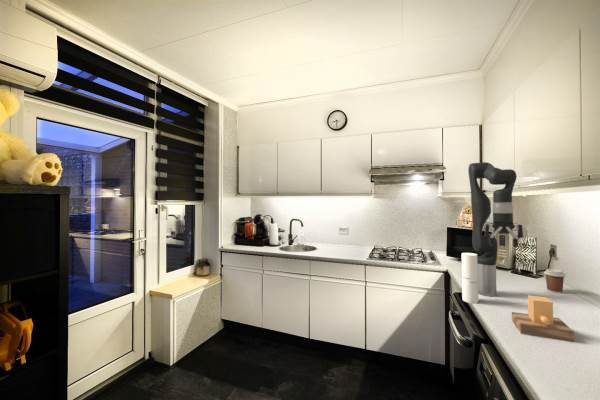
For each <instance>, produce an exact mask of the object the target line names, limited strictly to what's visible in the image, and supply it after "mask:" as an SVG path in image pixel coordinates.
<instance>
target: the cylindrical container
mask: <svg viewBox="0 0 600 400" xmlns="http://www.w3.org/2000/svg"><path fill="white" fill-rule="evenodd" d="M477 257H478V254H477V253H473V252H462V253H461V291H462V292H461V293H462V294H461V297H462V301H463V302H465V303H468V304H477V303H479V293H478V266H477Z"/></svg>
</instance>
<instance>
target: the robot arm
mask: <svg viewBox="0 0 600 400" xmlns="http://www.w3.org/2000/svg"><path fill="white" fill-rule="evenodd" d="M517 177H518V176H517V172H516V171H515V170H514V169H512V168H510V169H507V168H506V169H501V168H498V167H495V166H494V165H493V164H492V163H490V162H487V161H486V162H472V163H470V164H469V165H468V178H469V187H470V199H471V200H470V202H471V204H470V205H471V206H470V207H471V216H472V217H471V218H472V235H471V239H472V240H471V242H472V248H473V250H474V251H475V252H480V253H483V252H484V254H482V255H479V256H477V266H478V295H482V296H487V297H497V259H498V241H497V238H496V236H497V234H505V235H507V234H509V235H510V236H511V237H512V246H513V248H517V247H518V246H519V239H522V238H524V232H523V225H522V224H520V223H519V224H518V223H517V224H514V206H513V190H514V186H515V183H516V180H517ZM479 179H486V180H487V181H488V183H489V184H490V185H492V186H493V185H494V186H495V185H496V186H497V185H498V186H499V185H501V186H502V185H503V186H504V185H505V186H504V187H503V188H501V189H500V188H499V189H495V190H494V191H493V192H492V198H493V199H492V200H493V203H492V205H491V199H490V198H489V196H488V195H487V194H486V193H485V192H484V190H483V189H482V188H481V186H480V185H479V182H478V180H479ZM491 206H492V207H491ZM491 213H492V224H489V223H487V221H488V219H489V218H490V216H491ZM483 227H484V228H483ZM491 228H493V231H491V233H490V229H491ZM483 229H484V235H483ZM514 229H516V230H517V234H516V233H515V232H514V231H513V230H514ZM489 233H490V234H489Z"/></svg>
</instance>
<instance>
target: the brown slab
mask: <svg viewBox="0 0 600 400" xmlns="http://www.w3.org/2000/svg"><path fill="white" fill-rule="evenodd" d="M511 321H512V323H513V325H514V326H515V328H516V329H517V330H518V331H519V333H520V334H521V335H527V336H535V337H541V338H547V339H554V340H560V341H565V342H575V331H574V330H573V329H572V328H571V327H570V326H569V325H568V324H566V323H565V322H564V321H563V320H562V319H561V318H560V317H554V316H553V325H546V324H539V323H534V322H533V321H532V320H531V319H530V318H529V314H528V313H523V312H515V311H514V312H513V311H511Z"/></svg>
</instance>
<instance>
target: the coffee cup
mask: <svg viewBox="0 0 600 400" xmlns="http://www.w3.org/2000/svg"><path fill="white" fill-rule="evenodd" d="M543 274H544V275H545V283H546V289H547V291H548V292H550V293H554V294H562V293H563V291H564V280H565V278H566V274H565V273H564V272H563V271H562V270H561V269H555V268H546V270H545V271H543Z"/></svg>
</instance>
